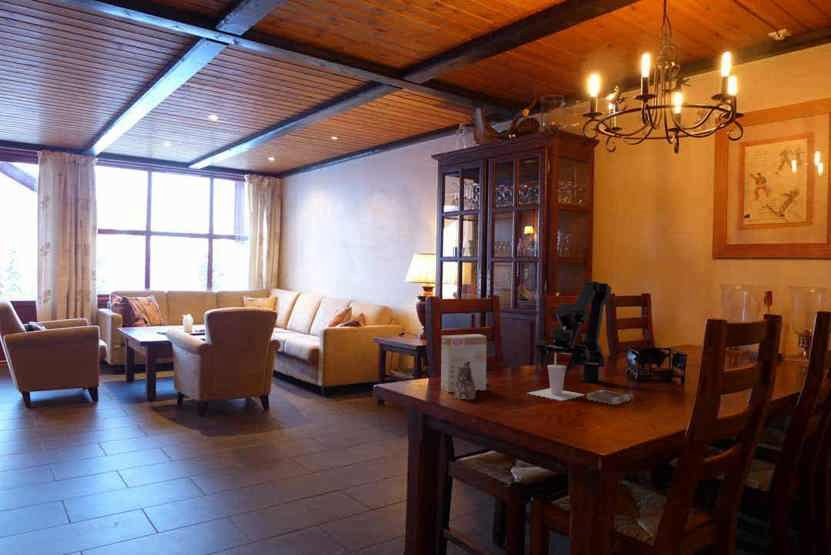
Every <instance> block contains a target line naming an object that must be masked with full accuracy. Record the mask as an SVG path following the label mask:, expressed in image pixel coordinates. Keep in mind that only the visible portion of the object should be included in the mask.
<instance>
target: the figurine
mask: <svg viewBox="0 0 831 555" xmlns="http://www.w3.org/2000/svg"><path fill="white" fill-rule="evenodd" d="M469 364H470V362H469V361H467V362H462V363H461V364H460V365H459V366H458V376H456V378H457V379H456V384H455V390H454V392H453V393H454V399H456V398H458V399H457V400H460V399H467V400H466V401H470V400H469V399H471V400H474V399H475V398H476V391H475V384H474V379H473V377H472V376H471V368H470V366H469Z"/></svg>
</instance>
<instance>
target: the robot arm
mask: <svg viewBox="0 0 831 555" xmlns="http://www.w3.org/2000/svg"><path fill="white" fill-rule="evenodd" d="M611 294H612V287H611V286H610V285H609V284H608V283H605V282H602V283H600V282H599V281H593V280H591V281H590V280H589V281H585V282H584V286H583V288H582V290H581V292H580V293H579V294H578V297H577V299H576V301H574V302H571V304H570V303H569V302H563V304H560V305H559V306H558V307H555V309H554V313H555V316H556V318H557V320H558V323H559V325H560V326H562V327H561V328H552V329H551V332H550V333H551V334H550V339H552V340H553V341H552V343H553V345H550V343H549V341H544V340H538V341H536V342H535V344H534V347H535V350H536V351H537V354H538V356H540V357H541V358H540V359H541V361H540V362H541V363H540V364H541V365H540V366H541V369H542V370H544V369H545V367H546V365H547V363H548V362H549V360H550V357H551V354H552V353H560V354H562V355H563V354H564V355H571V357H570V359H569V361H568V364H567V366H566V370H565V372H566V373H569V372H571V371H572V370H573V369H574V368H575V367H576V366H579V365H580V366H583V378H581V379H580V381H582V382H587V383H592V384H598V383H601V382H603V381H604V380H603V379H600V374H601V373H600V370H601V368H605V366H606V365H605V364H606V359H605V357H604V354H603V348H602V346H601V344H600V342H599V340H600V334H601V327H602V320H603V312H604V307H605V305H606V304H607V302H609V300H610V295H611ZM589 306H590V308H589ZM588 308H589V309H590V311H589V314H588ZM587 320H588V324H587V330H586V338H585V339H584V341H580V344H576V343H577V342H576V339H577V336H578V334H579V335H581V327H580V324H585V323H586V321H587ZM573 346H574V348H573Z"/></svg>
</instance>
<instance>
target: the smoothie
mask: <svg viewBox="0 0 831 555" xmlns="http://www.w3.org/2000/svg"><path fill="white" fill-rule="evenodd" d="M547 370H548V378H549V379H548V381H549V388H550V390H551V394H553V395H561V394H562V390H563V388H564V381H565V374H566V370H567V366H566V365H563V364H557V352H554V364H548V365H547Z"/></svg>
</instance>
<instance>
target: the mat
mask: <svg viewBox="0 0 831 555" xmlns="http://www.w3.org/2000/svg"><path fill="white" fill-rule="evenodd" d="M528 394H530V396H533V395H535V396H534V397H538V396H540V398H543V397H545V398H544V399H548V398H549V399H548V400H553V399H554V400H553V401H557V400H558V401H559V402H565V401H567V400H568V399H569V400H573V399H576V397H577V398H581V397H585V396H584V395H586V394H585V393H584V394H583V393H577V392H572V391H567V390H563V389H562V394H561V395H553V394H551V390H550V387H548V388H545V389H539V390H536V391H535V390H534V391H530V392H527V393H526V395H528ZM580 396H581V397H580ZM572 398H573V399H572ZM564 400H565V401H564Z"/></svg>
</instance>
